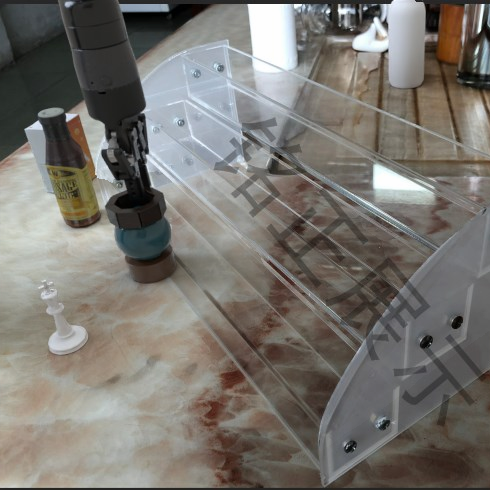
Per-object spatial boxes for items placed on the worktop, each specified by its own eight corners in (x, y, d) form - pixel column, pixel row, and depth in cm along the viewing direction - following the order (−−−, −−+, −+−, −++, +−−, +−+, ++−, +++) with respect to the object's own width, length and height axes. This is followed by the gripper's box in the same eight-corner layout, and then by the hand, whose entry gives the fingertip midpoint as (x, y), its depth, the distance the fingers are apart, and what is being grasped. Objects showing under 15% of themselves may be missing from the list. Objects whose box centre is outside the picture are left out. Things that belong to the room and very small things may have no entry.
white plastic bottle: (387, 78, 155) (387, -49, 138) (421, 76, 154) (425, -52, 137) (389, 90, 147) (388, -43, 130) (425, 88, 147) (429, -46, 130)
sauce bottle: (57, 227, 103) (16, 118, 91) (79, 208, 107) (43, 103, 96) (89, 231, 101) (51, 120, 90) (110, 212, 106) (77, 105, 94)
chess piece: (43, 341, 78) (16, 281, 73) (80, 323, 81) (56, 264, 75) (56, 360, 75) (29, 299, 69) (94, 341, 77) (70, 281, 72)
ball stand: (119, 286, 87) (100, 226, 81) (134, 255, 94) (116, 197, 88) (173, 283, 87) (157, 223, 81) (184, 252, 93) (170, 194, 88)
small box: (74, 195, 112) (52, 130, 105) (46, 192, 114) (22, 129, 106) (98, 175, 118) (79, 113, 111) (71, 173, 120) (50, 112, 113)
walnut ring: (104, 230, 82) (99, 214, 81) (119, 203, 88) (115, 188, 87) (158, 227, 82) (154, 211, 80) (170, 201, 88) (166, 185, 87)
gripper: (97, 62, 83) (128, 173, 93) (61, 98, 71) (100, 220, 81) (150, 59, 83) (176, 170, 92) (122, 94, 71) (155, 217, 81)
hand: (140, 193), depth 87 cm, fingers closed
